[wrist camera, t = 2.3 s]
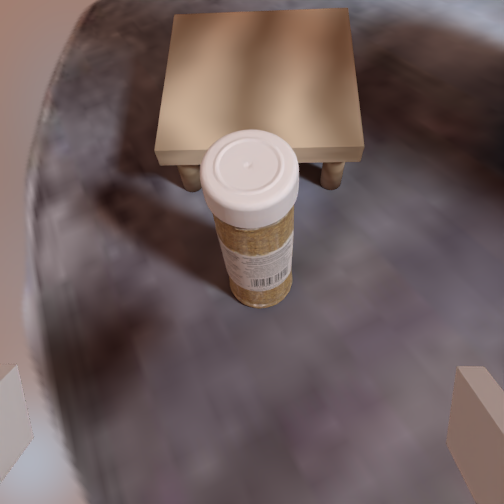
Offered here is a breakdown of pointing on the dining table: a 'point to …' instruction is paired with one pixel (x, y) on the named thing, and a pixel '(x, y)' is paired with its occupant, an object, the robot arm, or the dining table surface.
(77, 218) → the dining table surface
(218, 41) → the stool
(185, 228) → the dining table surface
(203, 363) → the dining table surface
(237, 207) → the spice jar
